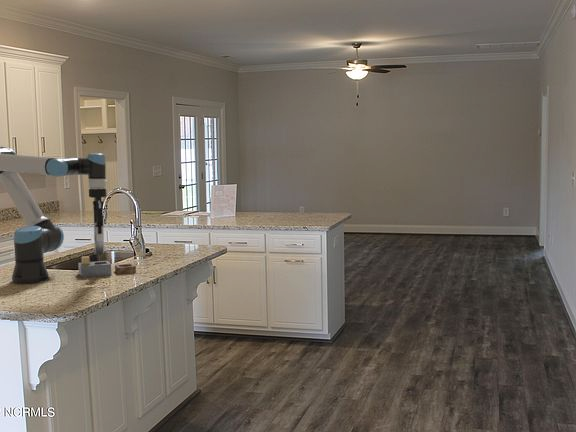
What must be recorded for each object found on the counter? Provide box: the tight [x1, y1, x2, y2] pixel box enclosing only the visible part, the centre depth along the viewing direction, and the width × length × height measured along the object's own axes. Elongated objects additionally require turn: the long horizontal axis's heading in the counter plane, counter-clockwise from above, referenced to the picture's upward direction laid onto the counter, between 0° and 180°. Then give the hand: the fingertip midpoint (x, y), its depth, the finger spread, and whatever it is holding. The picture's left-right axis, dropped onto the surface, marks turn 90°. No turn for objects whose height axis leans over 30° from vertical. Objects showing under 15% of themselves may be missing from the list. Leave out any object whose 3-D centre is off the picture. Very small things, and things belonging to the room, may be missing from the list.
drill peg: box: [93, 222, 105, 256], centre depth 301 cm, size 4×4×14 cm
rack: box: [113, 263, 138, 276], centre depth 307 cm, size 9×9×4 cm
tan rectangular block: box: [81, 255, 91, 265], centre depth 300 cm, size 3×3×7 cm
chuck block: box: [77, 260, 113, 279], centre depth 301 cm, size 13×10×6 cm
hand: (99, 240), depth 301 cm, fingers closed on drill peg, 4 cm apart
